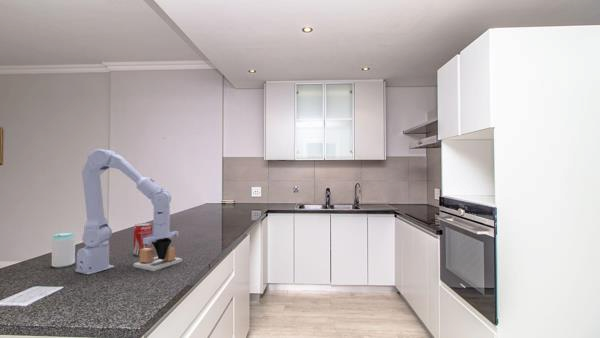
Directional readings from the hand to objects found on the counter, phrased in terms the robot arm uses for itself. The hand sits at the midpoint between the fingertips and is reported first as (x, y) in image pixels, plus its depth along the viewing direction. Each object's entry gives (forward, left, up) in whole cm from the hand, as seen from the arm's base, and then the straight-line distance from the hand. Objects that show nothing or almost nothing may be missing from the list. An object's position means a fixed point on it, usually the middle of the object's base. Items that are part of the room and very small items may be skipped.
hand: (161, 258), depth 118 cm
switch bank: (+1, +3, -3) cm, 4 cm away
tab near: (+3, 0, -1) cm, 3 cm away
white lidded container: (-16, +34, -3) cm, 38 cm away
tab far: (-2, +6, -1) cm, 6 cm away
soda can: (+8, +21, -3) cm, 22 cm away
